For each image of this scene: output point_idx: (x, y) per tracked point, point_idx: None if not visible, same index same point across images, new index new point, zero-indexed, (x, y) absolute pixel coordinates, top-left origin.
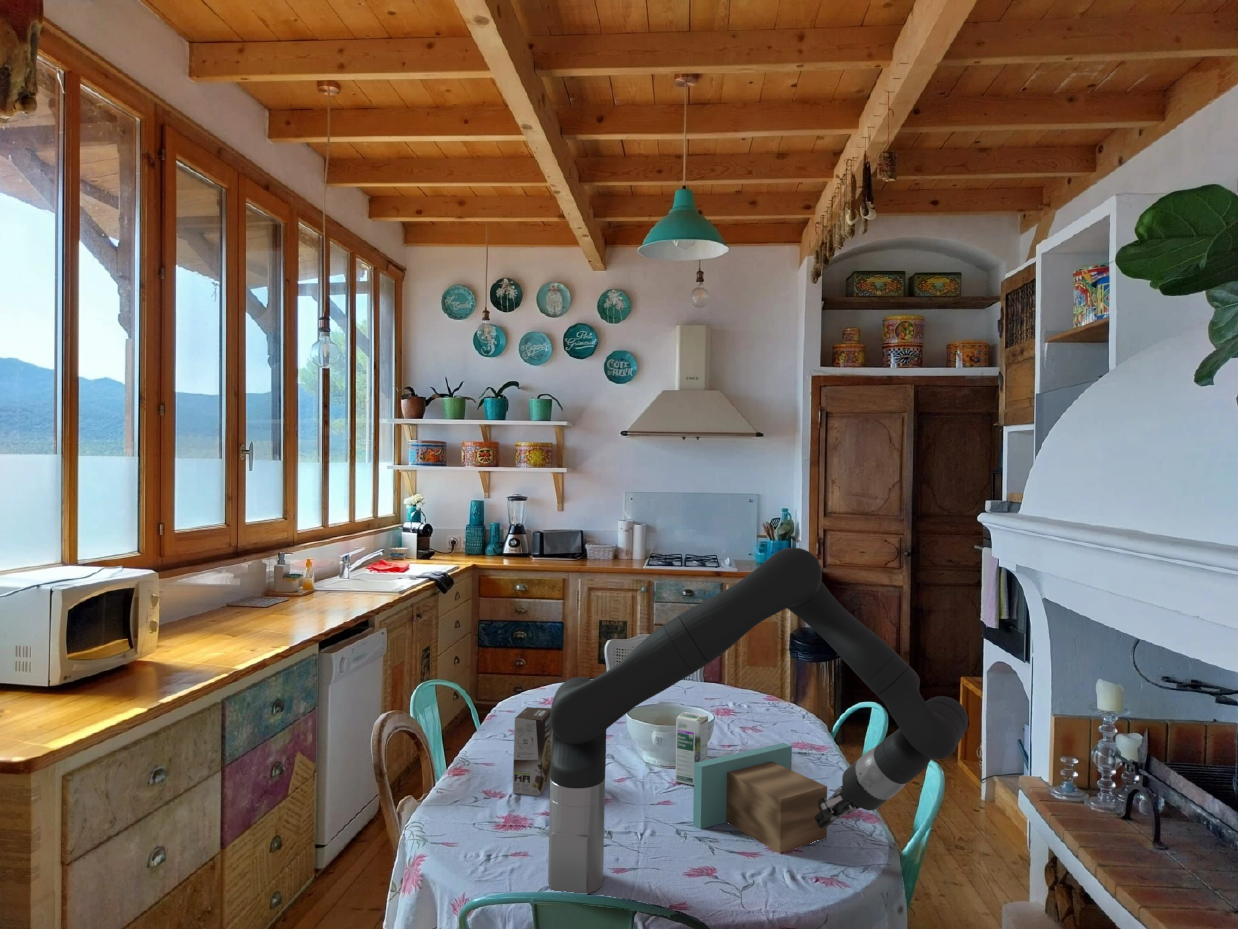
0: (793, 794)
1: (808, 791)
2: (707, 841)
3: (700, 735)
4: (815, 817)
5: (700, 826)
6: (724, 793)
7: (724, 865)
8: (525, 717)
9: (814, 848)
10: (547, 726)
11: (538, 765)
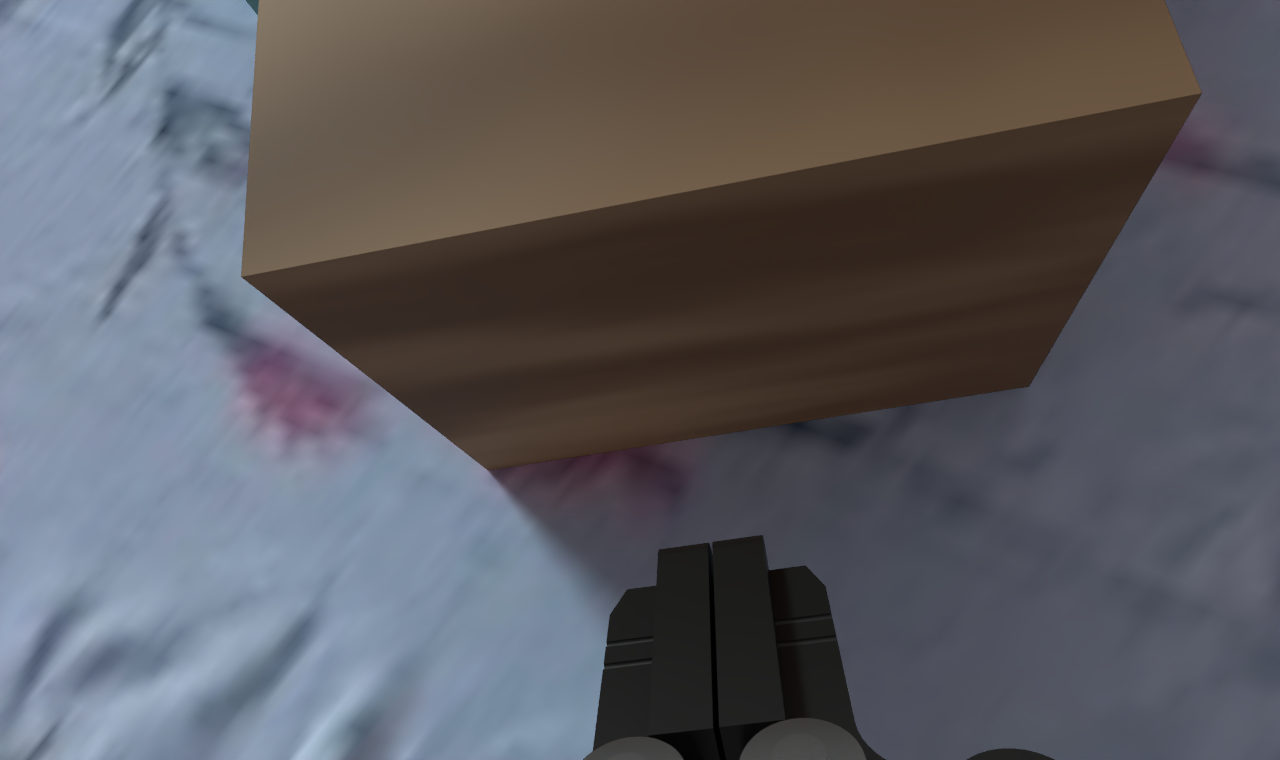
0: (497, 198)
1: (776, 168)
2: (189, 159)
3: None
4: (612, 611)
5: (250, 3)
6: None
7: (50, 468)
8: None
9: (810, 493)
10: None
11: None
